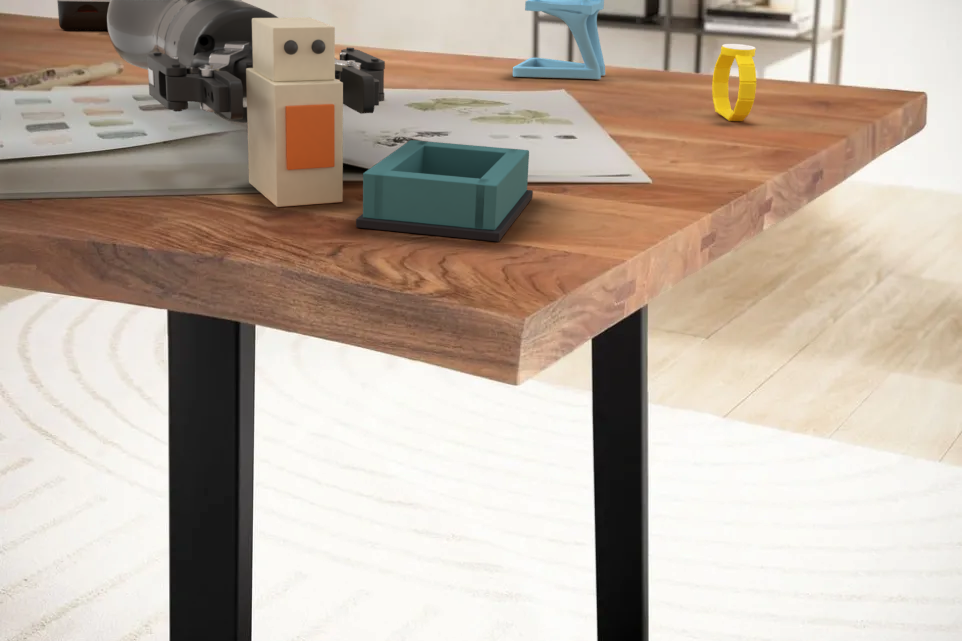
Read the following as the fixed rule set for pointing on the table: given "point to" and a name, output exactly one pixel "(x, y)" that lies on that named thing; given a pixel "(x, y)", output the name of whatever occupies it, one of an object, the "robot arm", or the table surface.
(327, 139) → the toy robot
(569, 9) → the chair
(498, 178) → the box
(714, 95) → the watch
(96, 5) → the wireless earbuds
